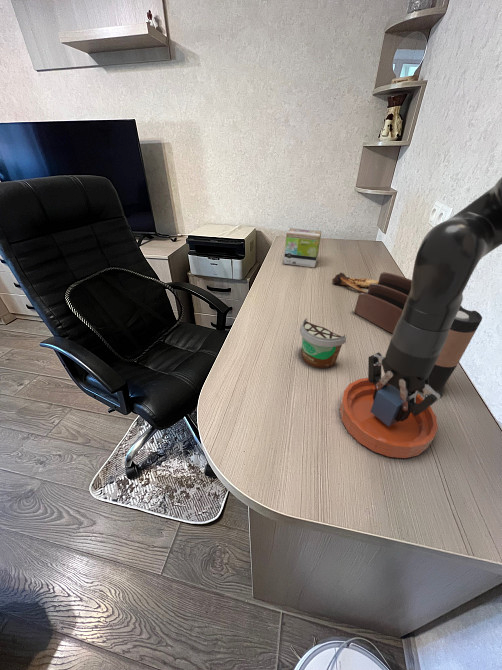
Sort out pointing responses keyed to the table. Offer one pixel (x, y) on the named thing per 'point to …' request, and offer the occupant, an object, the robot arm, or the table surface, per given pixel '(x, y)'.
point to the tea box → (302, 247)
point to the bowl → (376, 434)
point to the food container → (320, 345)
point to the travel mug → (454, 347)
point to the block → (387, 404)
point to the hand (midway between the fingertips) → (388, 410)
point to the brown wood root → (353, 282)
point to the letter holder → (384, 301)
